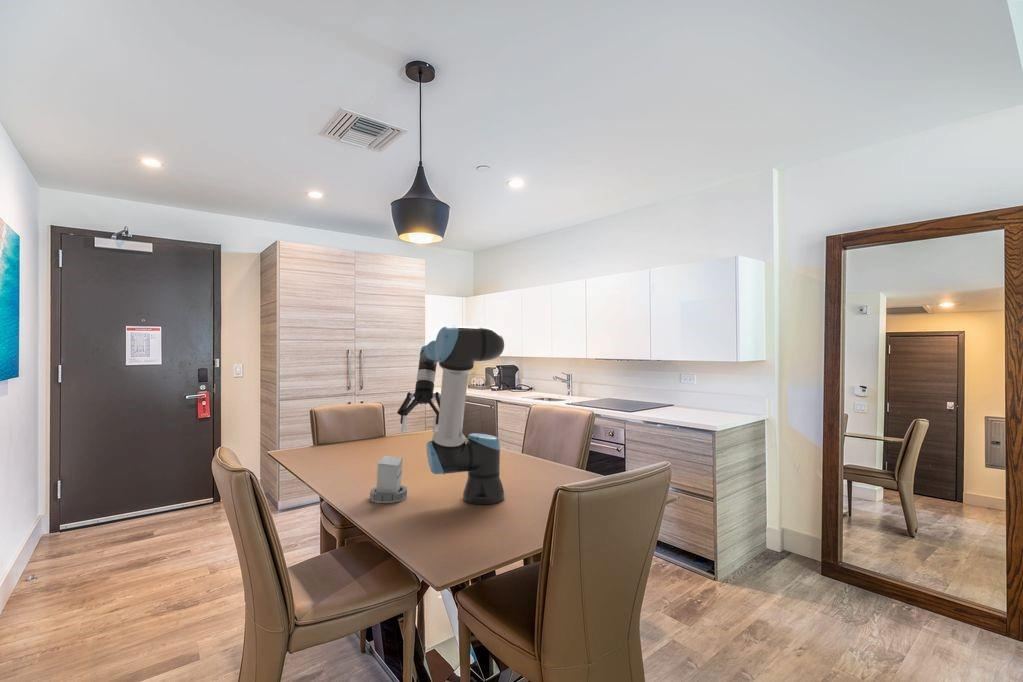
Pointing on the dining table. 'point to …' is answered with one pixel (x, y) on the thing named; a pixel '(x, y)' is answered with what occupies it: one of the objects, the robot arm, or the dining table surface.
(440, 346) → the robot arm
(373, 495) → the round holder
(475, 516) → the dining table surface
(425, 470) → the dining table surface
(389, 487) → the supplement box
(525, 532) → the dining table surface
